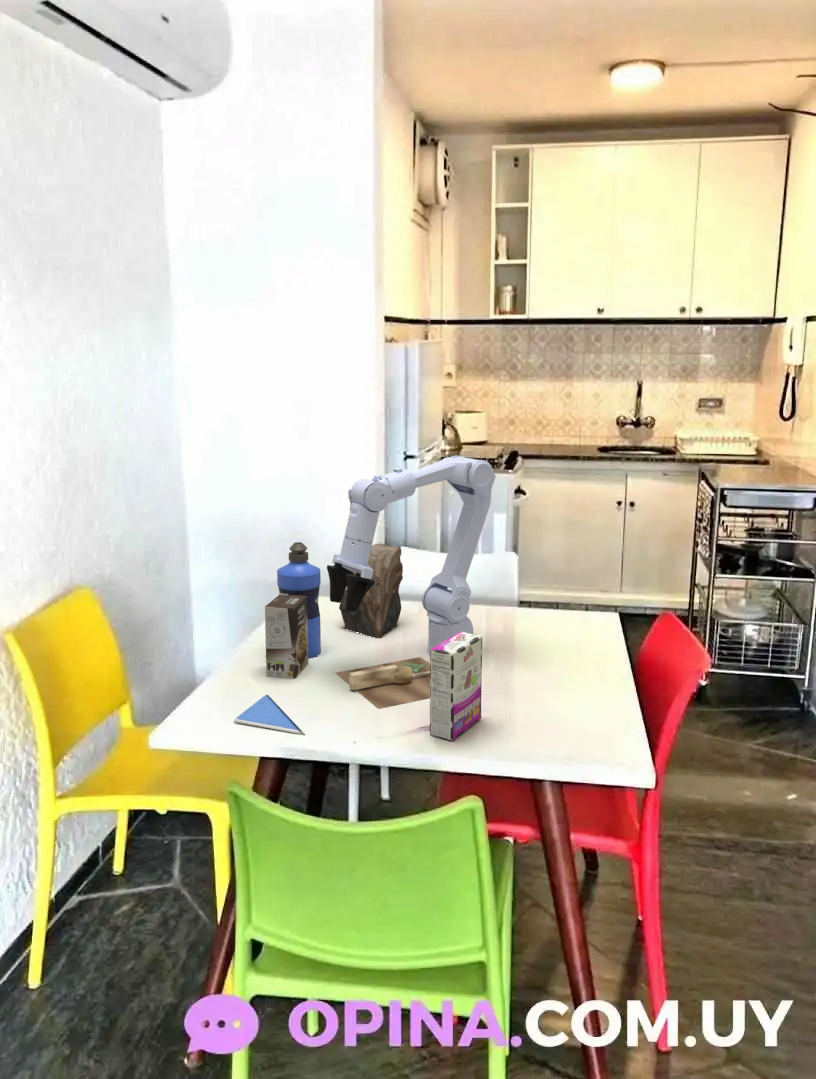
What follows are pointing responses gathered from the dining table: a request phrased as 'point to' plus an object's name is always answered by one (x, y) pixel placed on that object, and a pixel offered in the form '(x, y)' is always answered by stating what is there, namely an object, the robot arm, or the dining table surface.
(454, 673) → the candy bar box
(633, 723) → the dining table surface
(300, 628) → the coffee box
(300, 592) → the water bottle
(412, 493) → the robot arm
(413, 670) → the dial board
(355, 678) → the dial lever
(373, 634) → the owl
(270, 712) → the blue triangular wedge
